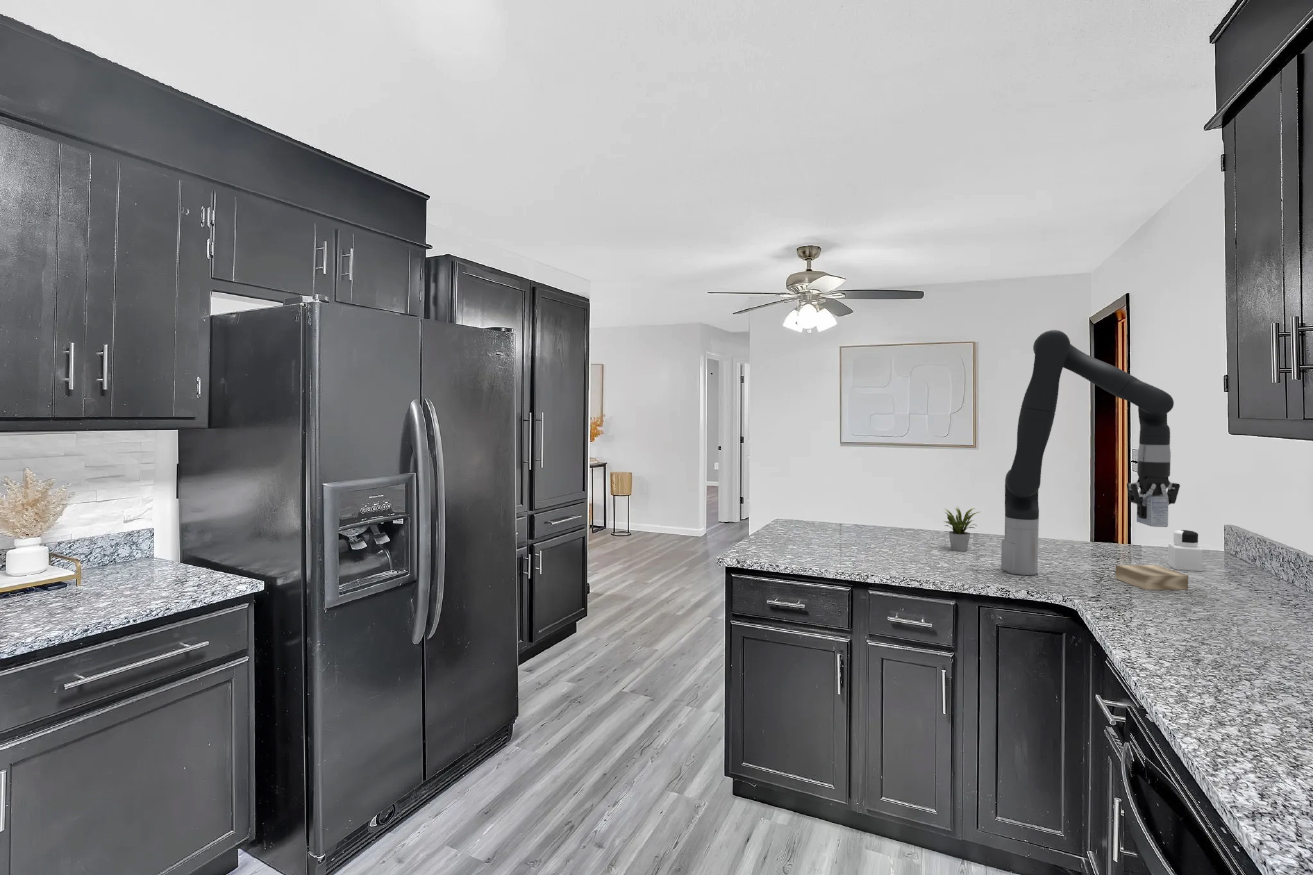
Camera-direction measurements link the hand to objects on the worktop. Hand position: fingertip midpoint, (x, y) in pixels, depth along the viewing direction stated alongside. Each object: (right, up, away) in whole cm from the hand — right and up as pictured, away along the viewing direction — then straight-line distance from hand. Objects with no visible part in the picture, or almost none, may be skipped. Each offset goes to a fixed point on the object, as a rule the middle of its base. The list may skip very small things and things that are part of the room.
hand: (1152, 518), depth 187 cm
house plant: (-33, -17, +46) cm, 59 cm away
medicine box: (0, -2, 0) cm, 2 cm away
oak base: (0, -19, +1) cm, 19 cm away
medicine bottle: (+24, -18, +18) cm, 36 cm away
